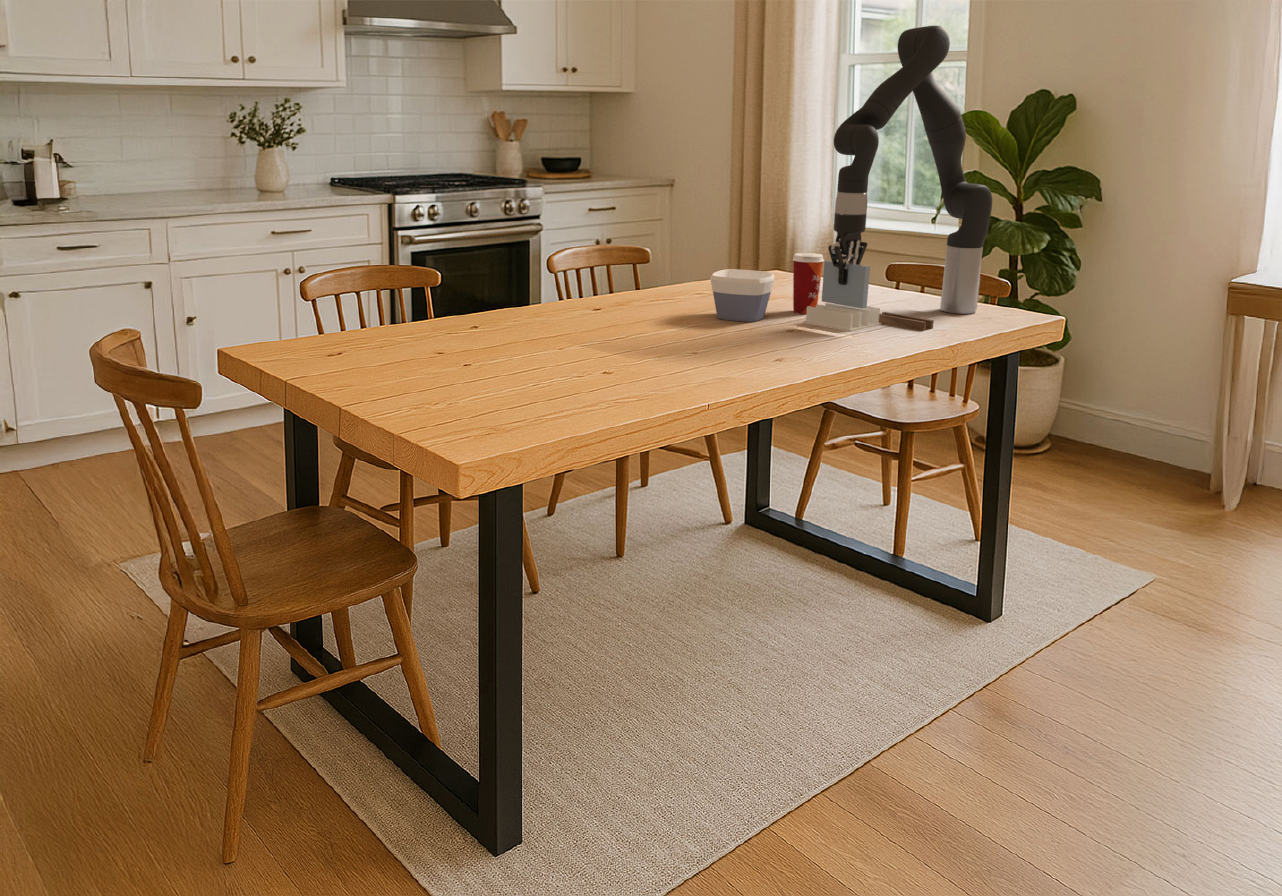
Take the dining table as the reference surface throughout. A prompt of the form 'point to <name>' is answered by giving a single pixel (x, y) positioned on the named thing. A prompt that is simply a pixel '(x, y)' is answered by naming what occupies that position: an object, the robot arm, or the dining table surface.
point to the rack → (842, 317)
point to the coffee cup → (806, 280)
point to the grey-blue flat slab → (852, 291)
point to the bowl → (741, 294)
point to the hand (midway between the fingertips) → (845, 283)
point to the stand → (905, 321)
